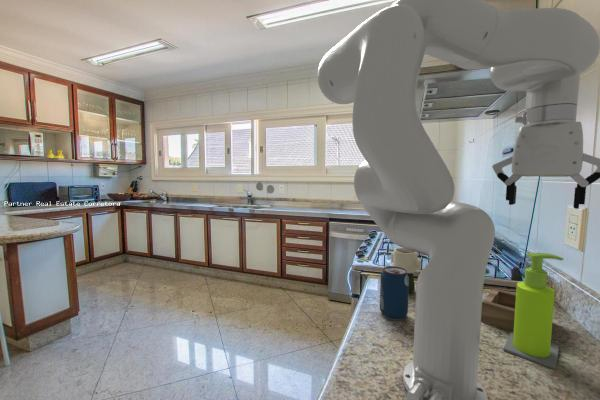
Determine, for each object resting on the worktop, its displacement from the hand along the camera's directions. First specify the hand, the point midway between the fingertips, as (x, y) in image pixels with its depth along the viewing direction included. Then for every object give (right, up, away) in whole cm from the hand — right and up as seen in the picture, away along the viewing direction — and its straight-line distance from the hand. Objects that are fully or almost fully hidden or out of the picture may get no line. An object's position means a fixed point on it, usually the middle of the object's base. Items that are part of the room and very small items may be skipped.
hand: (542, 206), depth 55 cm
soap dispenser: (0, -30, +2) cm, 30 cm away
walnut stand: (+6, -29, +14) cm, 33 cm away
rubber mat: (0, -30, +2) cm, 30 cm away
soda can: (-24, -29, +17) cm, 41 cm away
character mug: (-15, -28, +32) cm, 45 cm away
